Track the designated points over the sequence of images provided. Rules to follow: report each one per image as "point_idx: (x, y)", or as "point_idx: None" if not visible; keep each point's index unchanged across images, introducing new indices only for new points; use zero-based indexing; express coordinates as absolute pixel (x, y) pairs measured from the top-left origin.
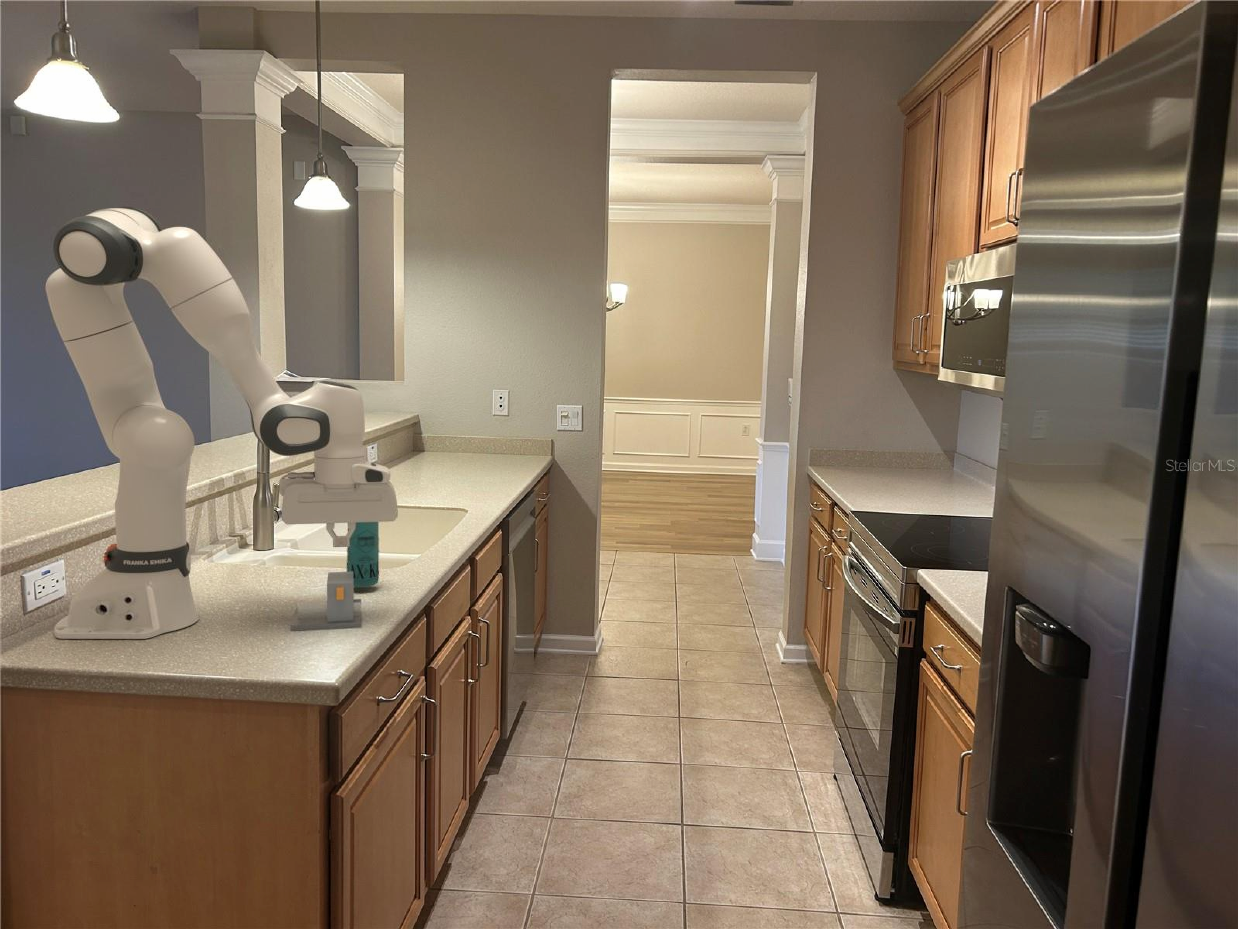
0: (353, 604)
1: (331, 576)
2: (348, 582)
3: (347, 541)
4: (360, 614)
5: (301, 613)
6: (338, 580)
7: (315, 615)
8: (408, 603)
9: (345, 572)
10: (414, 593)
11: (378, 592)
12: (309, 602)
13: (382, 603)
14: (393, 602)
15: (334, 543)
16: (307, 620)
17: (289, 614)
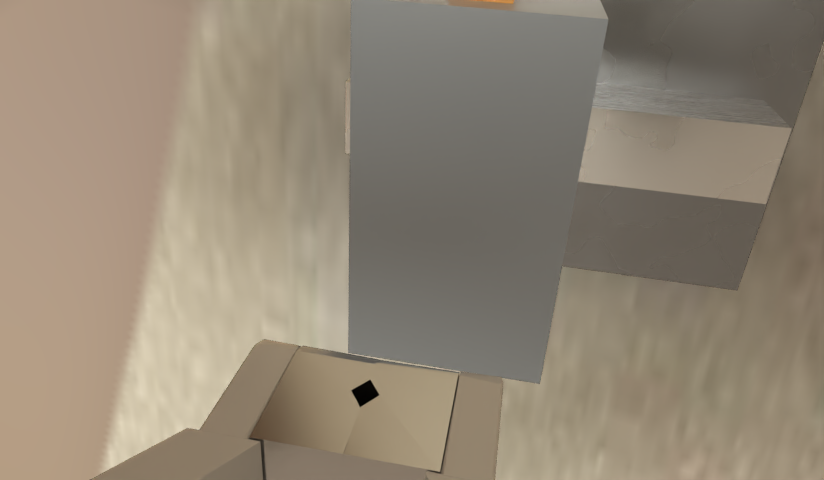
0: None
1: (529, 264)
2: (394, 17)
3: (260, 386)
4: None
5: (748, 107)
6: (482, 117)
7: (651, 91)
8: (149, 277)
9: (407, 345)
10: (139, 402)
11: None
12: (693, 170)
13: (269, 313)
14: (219, 312)
15: (475, 401)
16: (712, 37)
17: (756, 283)
